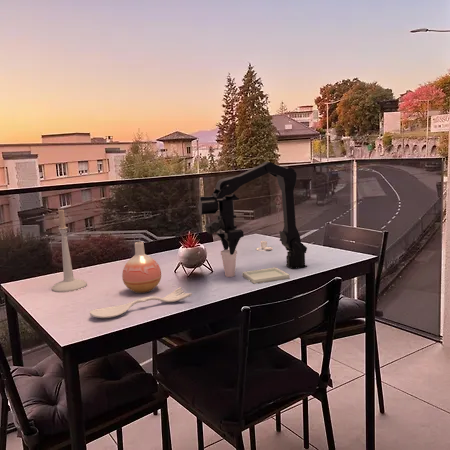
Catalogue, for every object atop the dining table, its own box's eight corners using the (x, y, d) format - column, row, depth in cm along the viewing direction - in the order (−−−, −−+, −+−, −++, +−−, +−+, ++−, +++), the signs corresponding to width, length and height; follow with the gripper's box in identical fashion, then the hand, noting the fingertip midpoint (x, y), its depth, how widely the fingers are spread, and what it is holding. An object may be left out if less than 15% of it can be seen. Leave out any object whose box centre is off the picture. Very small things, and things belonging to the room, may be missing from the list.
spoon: (193, 302, 151) (192, 292, 150) (95, 325, 135) (93, 314, 135) (181, 295, 158) (181, 285, 158) (87, 316, 143) (86, 306, 142)
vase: (117, 291, 167) (112, 243, 165) (151, 283, 175) (147, 237, 172) (134, 299, 156) (129, 248, 154) (169, 290, 164) (165, 241, 161)
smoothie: (236, 277, 175) (234, 241, 173) (220, 277, 177) (218, 241, 174) (239, 273, 181) (237, 238, 179) (223, 273, 183) (221, 238, 181)
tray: (275, 271, 182) (275, 267, 181) (289, 278, 170) (289, 274, 170) (242, 276, 177) (242, 272, 177) (254, 284, 166) (254, 279, 166)
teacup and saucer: (273, 251, 218) (273, 243, 217) (256, 252, 218) (256, 244, 218) (271, 247, 227) (271, 239, 226) (255, 248, 227) (255, 240, 226)
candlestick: (49, 286, 178) (39, 209, 174) (82, 280, 185) (74, 205, 180) (55, 294, 167) (45, 212, 163) (91, 287, 174) (82, 208, 169)
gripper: (199, 211, 181) (202, 250, 184) (213, 217, 164) (216, 260, 166) (226, 209, 185) (228, 247, 187) (243, 214, 167) (245, 256, 170)
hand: (228, 252), depth 178 cm, fingers closed on smoothie, 6 cm apart
